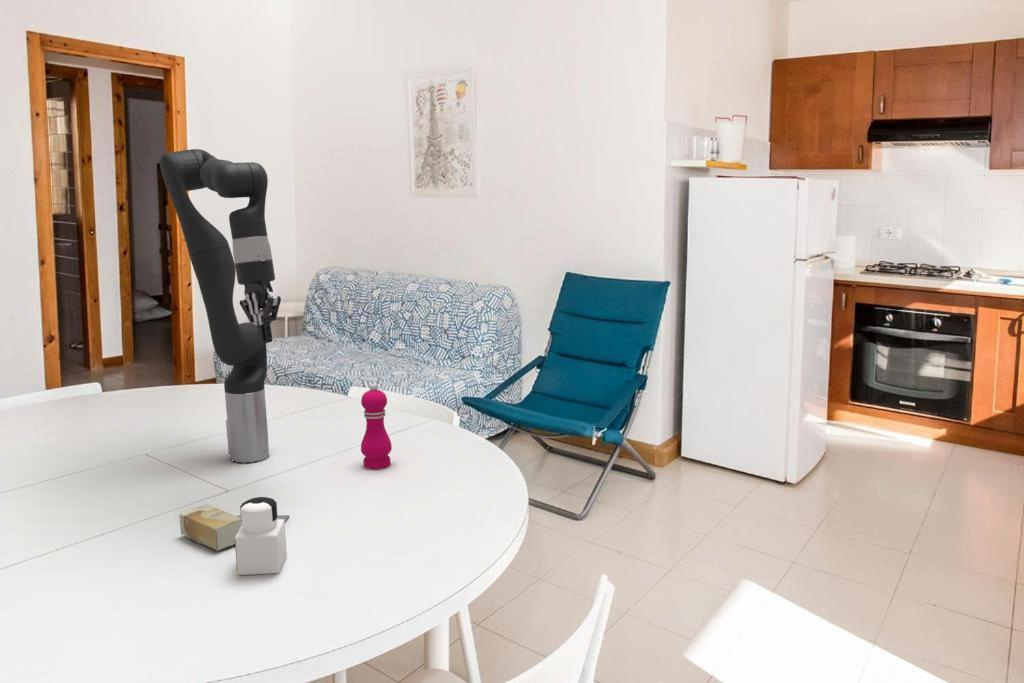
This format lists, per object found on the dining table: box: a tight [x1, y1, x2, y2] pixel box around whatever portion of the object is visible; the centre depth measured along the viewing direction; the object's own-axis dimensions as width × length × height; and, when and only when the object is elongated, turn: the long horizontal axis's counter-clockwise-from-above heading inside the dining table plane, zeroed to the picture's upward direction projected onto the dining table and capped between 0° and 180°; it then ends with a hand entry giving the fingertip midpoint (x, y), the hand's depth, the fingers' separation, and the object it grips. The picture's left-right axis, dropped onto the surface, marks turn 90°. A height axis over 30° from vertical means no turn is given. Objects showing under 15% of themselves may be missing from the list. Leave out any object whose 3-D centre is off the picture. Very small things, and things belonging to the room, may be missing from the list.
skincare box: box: [179, 504, 242, 551], centre depth 153 cm, size 6×4×12 cm
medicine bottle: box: [234, 496, 288, 576], centre depth 141 cm, size 7×7×12 cm
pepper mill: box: [360, 383, 393, 470], centre depth 192 cm, size 7×7×20 cm
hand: (266, 342), depth 170 cm, fingers closed
